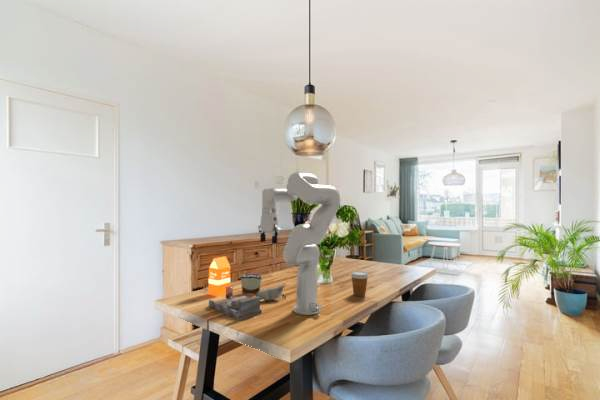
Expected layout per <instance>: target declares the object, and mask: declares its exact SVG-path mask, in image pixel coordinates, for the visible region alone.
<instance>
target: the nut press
mask: <svg viewBox="0 0 600 400" xmlns="http://www.w3.org/2000/svg"><path fill="white" fill-rule="evenodd" d="M237 297H238V296H234V295H233V297H232V298H237ZM208 307H209V308H211V309H213V310H216V311H218V312H220V313H223V314H225V316H226V315H227V316H229V317H231V318H233V319H235V320H237V321H243V320H246V319H249V318H252V317H255V316H257V315H261V314H262V313H263V312H262V309H261V300H260V297H258V296H256V295H255V296H254V297H250V298H249V297H248V299H245V300H242V301H239V308H238V309H235V310H234V309H231V308H229V307H227V298H225V299H221V300H217V301H215V300H213V299H209V300H208Z"/></svg>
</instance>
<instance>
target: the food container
mask: <svg viewBox="0 0 600 400" xmlns="http://www.w3.org/2000/svg"><path fill="white" fill-rule="evenodd" d="M239 280H240V283H241V292H242V295H256V294H257V293H258V292H259V291H260V290H261V282H262V280H263V276H262V275H261V274H260V273H243V274H241V275H240V277H239Z"/></svg>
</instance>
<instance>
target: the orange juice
mask: <svg viewBox="0 0 600 400" xmlns="http://www.w3.org/2000/svg"><path fill="white" fill-rule="evenodd" d="M226 286H231V265H230V262H229V260H228V258H227V256H219V257H214V258H213V259H212V261H211V263H210V265H209V266H208V295H209V296H210V295H211V296H213V297H217V298H218V297H222V296H226Z"/></svg>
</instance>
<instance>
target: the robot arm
mask: <svg viewBox="0 0 600 400" xmlns="http://www.w3.org/2000/svg"><path fill="white" fill-rule="evenodd" d="M288 176H289V177H288V179H287V184H286V186H285V188H281V187H271V188H265V189H262V192H261V193H262V195H261V199H262V200H261V201H262V202H261V208H262V209H261V218H260V224H259V225H258V227H257V229H258V232H259V235H260V239H259V240H260V243H263V242H264V243H265V242H266V233H271V234H272V236H271V244H272V245H273V244H278V236H279V234H280V231H281V228H280V226H279V221H278V220H279V219H278V214H277V203H291V202H293V201H296V200H298V198H299V200H301V201H302V202H303V203H305V204H306V205H307V204H308V205H320V206H319V207H318V208H317V209H316V210H315V211H314V213H313V215H312V217H311V220H310V221H309V222H308V223H302V224H301V223H300V224H297V225H296V226H294V227H293V228H292V229H291V232H290V233H289V237H288V239H287V241H286V244H285V245H284V246H285V247H284V249H283V253H282V254H283V255H282V257H283V260H284V262H285V263H286V264H287V265H288V266H297V265H298V267H297V271H296V295H295V296H296V297H295V298H296V299H295V300H296V305H294V306H292V311H293V312H294V314H297V315H302V316H313V315H317V314H319V313H321V311H322V309H323V306H322V305H319V301H317V300H318V297H317V296H318V290H317V289H318V265H319V264H318V263H319V259H320V249H319V246H318V245H319V244H321V243H322V242H323V240H324V239H325V236H326V235H327V232H328V231H329V228H330V226H331V224H332V222H333V219H334V218H335V216H336V214H337V213H338V211H339V208H340V205H341V196H340V192H339V191H338V189H337V188H335V187H334V186H332V185H326V184H319V180H318V178H317V176H316V175H314V174H312V173H308V172H292V174H290V175H288Z"/></svg>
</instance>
